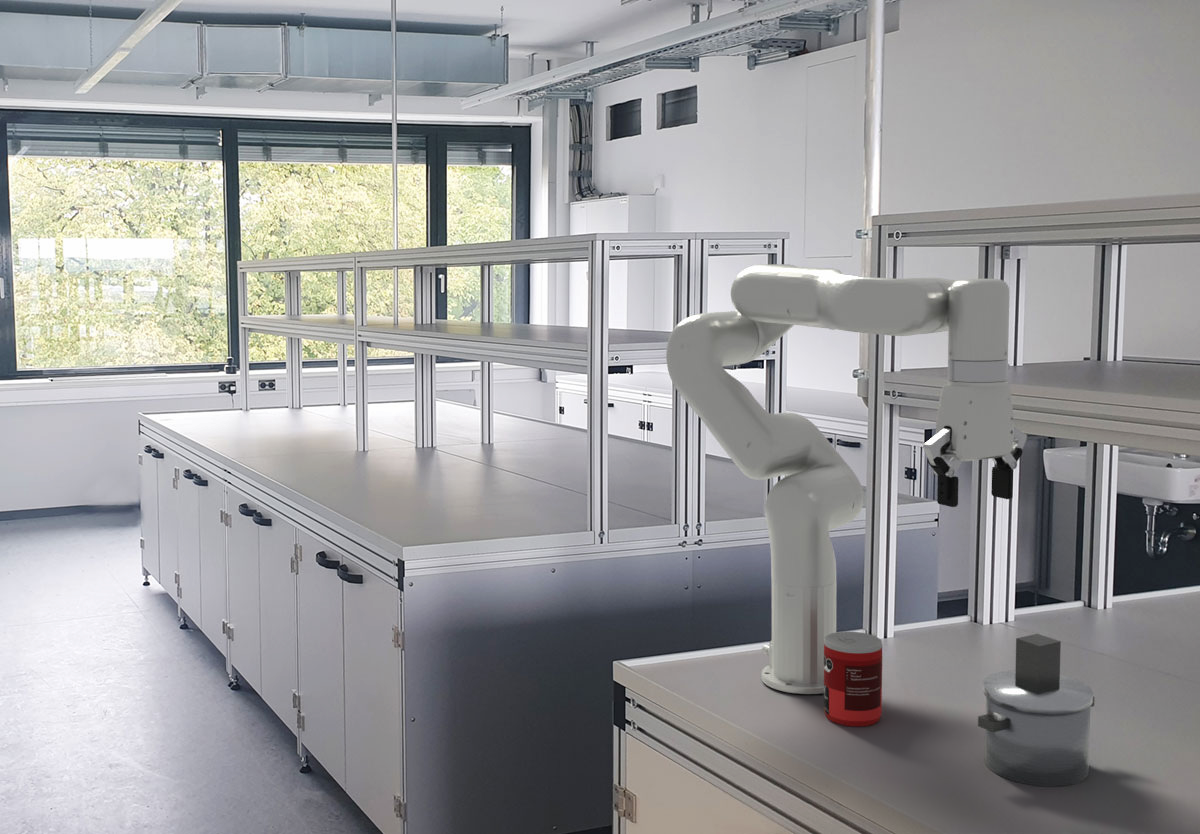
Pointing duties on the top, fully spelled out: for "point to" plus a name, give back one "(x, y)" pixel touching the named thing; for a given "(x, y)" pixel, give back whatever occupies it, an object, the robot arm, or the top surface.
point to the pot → (1036, 745)
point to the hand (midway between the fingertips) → (975, 501)
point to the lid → (1038, 681)
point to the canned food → (853, 678)
